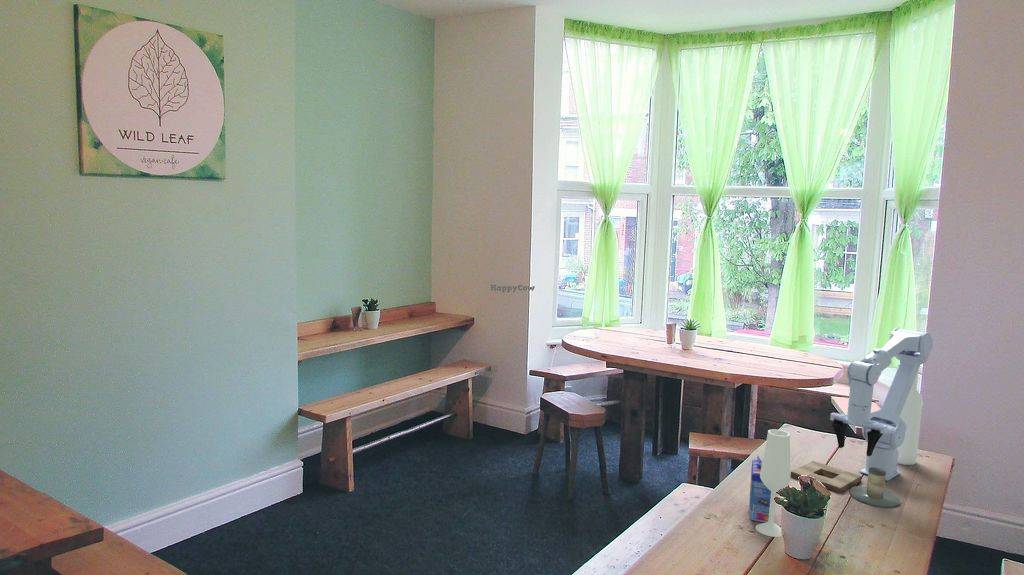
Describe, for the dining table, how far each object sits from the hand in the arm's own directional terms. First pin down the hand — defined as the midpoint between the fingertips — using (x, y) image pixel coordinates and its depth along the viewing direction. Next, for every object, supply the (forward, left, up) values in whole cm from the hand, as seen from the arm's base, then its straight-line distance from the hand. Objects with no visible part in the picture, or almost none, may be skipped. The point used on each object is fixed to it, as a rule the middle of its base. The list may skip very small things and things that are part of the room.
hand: (854, 451), depth 190 cm
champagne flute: (+46, 0, -10) cm, 47 cm away
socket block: (+3, -6, -9) cm, 12 cm away
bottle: (-32, +2, -10) cm, 33 cm away
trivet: (+5, +8, -9) cm, 13 cm away
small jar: (+5, +8, -9) cm, 13 cm away
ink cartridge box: (+40, -6, -10) cm, 42 cm away
